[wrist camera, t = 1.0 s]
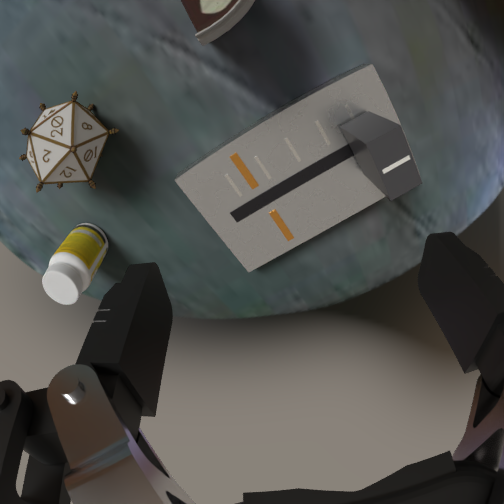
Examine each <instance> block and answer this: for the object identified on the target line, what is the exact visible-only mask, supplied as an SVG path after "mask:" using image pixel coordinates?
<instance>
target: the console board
mask: <svg viewBox="0 0 504 504" xmlns="http://www.w3.org/2000/svg"><path fill="white" fill-rule="evenodd" d="M368 111H369V112H372V113H374V114H377V115H379V116H381V117H384V118H386V119H388V120H391V121H393V122H395V123H397V124H400V121H399V119H398V117H397V114H396V112H395V110H394V108H393V105H392V103H391V101H390V99H389V97H388V94H387V92H386V90H385V88H384V86H383V84H382V82H381V80H380V78H379V76H378V74H377V72H376V70H375V68H374V66H373V64H362V65H360V66H358V67H356V68H354V69H351V70H349V71H347V72H345V73H343V74H341V75H339V76H337V77H335V78H333V79H332V80H330V81H328V82H326V83H324V84H322V85H320V86H318V87H316V88H314V89H313V90H311V91H309V92H307V93H305V94H303V95H301V96H300V97H298V98H296V99H294V100H292V101H291V102H289V103H287V104H285V105H284V106H282V107H280V108H278V109H277V110H275V111H273V112H272V113H270V114H268V115H267V116H265V117H263V118H261V119H260V120H258V121H257V122H255V123H253V124H252V125H250V126H248V127H247V128H245V129H243V130H242V131H240V132H239V133H237V134H236V135H234V136H232V137H231V138H229V139H228V140H226V141H225V142H223V143H221V144H220V145H218V146H217V147H215V148H214V149H212V150H211V151H209V152H208V153H206V154H205V155H203V156H202V157H200V158H199V159H197V160H196V161H195V162H193V163H192V164H190V165H189V166H187V167H186V168H184V169H183V170H182V171H180V172H179V173H178V174H177V176H176V178H175V182H176V183H177V184H178V185H179V187H180V188H181V189H182V190H183V192H184V193H185V194H186V195H187V197H188V198H189V199H190V200H191V202H192V203H193V204H194V205H195V207H196V208H197V209H198V210H199V212H200V213H201V214H202V215H203V217H204V218H205V219H206V220H207V222H208V223H209V224H210V225H211V226H212V228H213V229H214V230H215V231H216V233H217V234H218V235H219V236H220V238H221V239H222V240H223V241H224V243H225V244H226V245H227V246H228V248H229V249H230V250H231V251H232V252H233V254H234V255H235V256H236V257H237V259H238V260H239V261H240V262H241V264H242V265H243V266H244V267H245V268H246V270H247V271H248V272H250V271H252V270H254V269H256V268H258V267H260V266H261V265H263V264H265V263H267V262H269V261H271V260H272V259H274V258H276V257H278V256H280V255H282V254H283V253H285V252H287V251H289V250H291V249H292V248H294V247H296V246H298V245H300V244H302V243H303V242H305V241H307V240H309V239H311V238H312V237H314V236H316V235H318V234H320V233H321V232H323V231H325V230H327V229H329V228H330V227H332V226H334V225H336V224H338V223H339V222H341V221H343V220H345V219H347V218H348V217H350V216H352V215H354V214H355V213H357V212H359V211H361V210H363V209H364V208H366V207H368V206H370V205H371V204H373V203H375V202H377V201H379V200H380V199H382V198H384V197H386V196H385V195H384V194H383V193H382V192H381V191H380V190H379V189H378V188H377V187H376V186H375V185H374V184H373V183H372V182H371V181H370V180H369V179H368V178H367V177H366V176H365V175H364V174H363V172H362V170H361V168H360V166H359V164H358V162H357V160H356V157H355V155H354V153H353V151H352V149H351V147H350V145H349V144H348V142H347V140H346V138H345V136H344V134H343V132H342V130H341V128H340V126H342V125H344V124H345V123H347V122H349V121H351V120H353V119H355V118H357V117H359V116H360V115H362V114H364V113H366V112H368ZM400 125H401V124H400ZM401 127H402V126H401ZM403 132H404V131H403ZM405 137H406V136H405ZM407 142H408V141H407ZM409 147H410V146H409ZM410 150H411V149H410ZM411 152H412V151H411ZM412 155H413V154H412ZM413 158H414V157H413ZM415 163H416V162H415ZM416 166H417V165H416ZM417 169H418V168H417ZM418 172H419V171H418ZM419 175H420V174H419Z"/></svg>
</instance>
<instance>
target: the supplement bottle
mask: <svg viewBox="0 0 504 504" xmlns="http://www.w3.org/2000/svg"><path fill="white" fill-rule="evenodd" d="M107 251H108V240H107V238H106V236H105V234H104V232H103V231H102V230H101V229H100V228H99V227H97V226H95V225H93V224H90V223H82V224H79V225H77V226H76V227H75V228H74V229H73V230H72V231H71V233H70V234H69V235H68V236H67V238H66V239H65V240H64V242H63V243H62V244H61V245H60V247H59V248H58V250H57V251H56V252H55V254H54V255H53V256H52V258H51V260H50V262H49V268H48V269H47V271H46V273H45V274H44V276H43V280H42V283H43V287H44V289H45V291H46V292H47V294H48V295H49V296H50V297H51V298H52V299H53V300H55V301H56V302H59V303H61V304H67V305H69V304H73V303H75V302H76V301H77V299H78V297H79V296H80V294H81V293H82V292H83V291H85V290H86V289H87V288H88V286H89V285H90V283H91V281H92V279H93V277H94V275H95V274H96V272H97V270H98V268H99V266H100V264H101V263H102V261H103V259H104V257H105V255H106V253H107Z"/></svg>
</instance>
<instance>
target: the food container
mask: <svg viewBox="0 0 504 504" xmlns="http://www.w3.org/2000/svg"><path fill="white" fill-rule="evenodd" d="M254 1H255V0H181V2H182V3H183V5H184V7H185V9H186V11H187V13H188V15H189V17H190V19H191V21H192V23H193V25H194V27H195V28H196V30H197V32H198V33H197V34H195V36H196V37H197V38H198V41H199V42H200V43H201V44H202V46H204V45H206V44H208V43H210V42H211V41H213V40H215V39H217V38H218V37H220V36H221V35H223V34H224V33H226V32H227V31H229V30H230V29H231V28H232V27H233V26H234V25H235V24H236V23H238V22H239V21H240V20H241V19H242V18H243V16H244V15H245V14H246V13H247V12H248V10H249V9H250V8H251V6H252V5H253V3H254Z"/></svg>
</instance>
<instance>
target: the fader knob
mask: <svg viewBox="0 0 504 504" xmlns="http://www.w3.org/2000/svg"><path fill="white" fill-rule="evenodd" d="M340 128H341V130H342V132H343V134H344V136H345V138H346V140H347V142H348V144H349V145H350V147H351V149H352V151H353V153H354V155H355V157H356V160H357V162H358V164H359V166H360V168H361V170H362V172H363V174H364V175H365V176H366V177H367V178H368V179H369V180H370V181H371V182H372V183H373V184H374V185H375V186H376V187H377V188H378V189H379V190H380V191H381V192H382V193H383V194H384V195H385V196H386V197H387V198H388V199H389V200H390V201H392V200H394V199H396V198H397V197H399V196H401V195H403V194H404V193H406V192H408V191H410V190H411V189H413V188H415V187H417V186H418V185H420V184H422V181H421V178H420V175H419V172H418V169H417V166H416V163H415V160H414V158H413V155H412V152H411V150H410V147H409V144H408V142H407V139H406V137H405V134H404V132H403V129H402V127H401V125H400V124H397V123H395V122H393V121H391V120H388V119H386V118H384V117H381V116H379V115H377V114H374V113H372V112H369V111H368V112H366V113H364V114H362V115H360V116H359V117H357V118H355V119H353V120H351V121H349V122H347V123H345V124H344V125H342V126H340Z"/></svg>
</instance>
